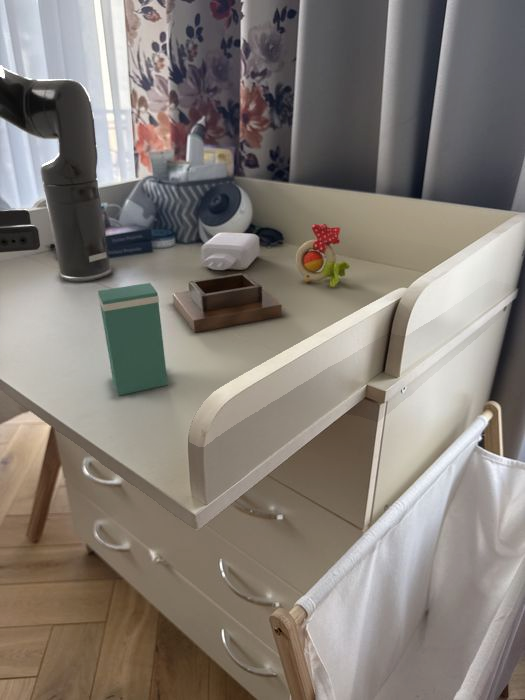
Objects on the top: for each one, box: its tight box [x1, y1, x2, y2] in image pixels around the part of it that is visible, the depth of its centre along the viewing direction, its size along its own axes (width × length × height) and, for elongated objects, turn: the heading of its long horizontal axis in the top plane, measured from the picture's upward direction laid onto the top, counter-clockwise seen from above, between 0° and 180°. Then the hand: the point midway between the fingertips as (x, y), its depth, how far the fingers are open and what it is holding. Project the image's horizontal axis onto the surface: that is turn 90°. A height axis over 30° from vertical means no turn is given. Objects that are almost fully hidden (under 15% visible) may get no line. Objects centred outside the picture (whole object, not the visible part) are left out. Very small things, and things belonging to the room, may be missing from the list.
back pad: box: [97, 282, 169, 397], centre depth 64 cm, size 6×4×12 cm, turn 113°
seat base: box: [172, 272, 282, 333], centre depth 86 cm, size 14×12×4 cm
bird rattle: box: [295, 223, 350, 288], centre depth 95 cm, size 6×11×9 cm
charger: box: [200, 231, 260, 271], centre depth 105 cm, size 5×9×15 cm
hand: (34, 227), depth 54 cm, fingers open, 8 cm apart
